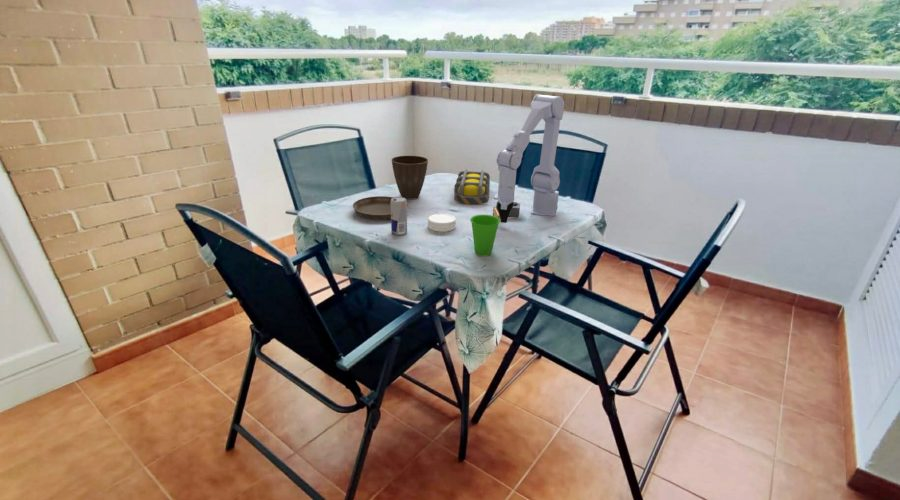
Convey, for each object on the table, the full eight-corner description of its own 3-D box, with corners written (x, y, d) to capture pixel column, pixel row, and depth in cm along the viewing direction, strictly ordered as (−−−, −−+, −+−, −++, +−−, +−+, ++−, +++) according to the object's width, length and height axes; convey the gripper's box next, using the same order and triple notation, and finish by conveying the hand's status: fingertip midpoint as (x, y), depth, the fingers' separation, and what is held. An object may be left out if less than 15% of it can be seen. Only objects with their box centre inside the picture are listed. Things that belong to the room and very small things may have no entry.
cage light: (452, 185, 174) (459, 167, 201) (452, 204, 177) (458, 184, 204) (489, 187, 172) (490, 168, 200) (488, 206, 176) (489, 185, 203)
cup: (464, 255, 133) (466, 222, 128) (473, 244, 141) (475, 212, 136) (493, 260, 130) (495, 227, 125) (500, 249, 138) (503, 217, 133)
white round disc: (453, 221, 160) (453, 212, 158) (458, 231, 151) (458, 222, 149) (426, 222, 158) (426, 213, 156) (429, 233, 149) (429, 223, 147)
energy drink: (392, 229, 151) (391, 196, 146) (408, 229, 151) (407, 196, 146) (390, 235, 146) (389, 201, 141) (406, 235, 146) (405, 202, 141)
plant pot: (413, 189, 194) (412, 153, 187) (435, 197, 184) (435, 160, 177) (385, 195, 184) (384, 158, 178) (407, 204, 175) (406, 165, 168)
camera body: (519, 212, 169) (520, 201, 167) (518, 219, 163) (519, 207, 161) (494, 210, 171) (495, 199, 169) (492, 216, 164) (493, 205, 162)
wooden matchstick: (499, 223, 156) (499, 215, 155) (496, 223, 156) (497, 215, 154) (495, 214, 165) (495, 206, 163) (492, 214, 165) (493, 206, 163)
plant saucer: (418, 212, 167) (418, 204, 166) (376, 226, 153) (376, 218, 152) (383, 200, 180) (383, 192, 178) (342, 212, 166) (341, 204, 164)
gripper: (497, 178, 156) (494, 214, 162) (493, 190, 144) (490, 228, 149) (516, 180, 155) (513, 215, 161) (514, 192, 142) (511, 230, 148)
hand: (503, 222), depth 155 cm, fingers closed
